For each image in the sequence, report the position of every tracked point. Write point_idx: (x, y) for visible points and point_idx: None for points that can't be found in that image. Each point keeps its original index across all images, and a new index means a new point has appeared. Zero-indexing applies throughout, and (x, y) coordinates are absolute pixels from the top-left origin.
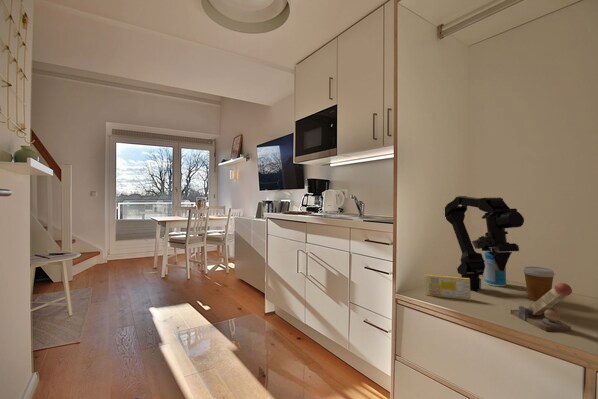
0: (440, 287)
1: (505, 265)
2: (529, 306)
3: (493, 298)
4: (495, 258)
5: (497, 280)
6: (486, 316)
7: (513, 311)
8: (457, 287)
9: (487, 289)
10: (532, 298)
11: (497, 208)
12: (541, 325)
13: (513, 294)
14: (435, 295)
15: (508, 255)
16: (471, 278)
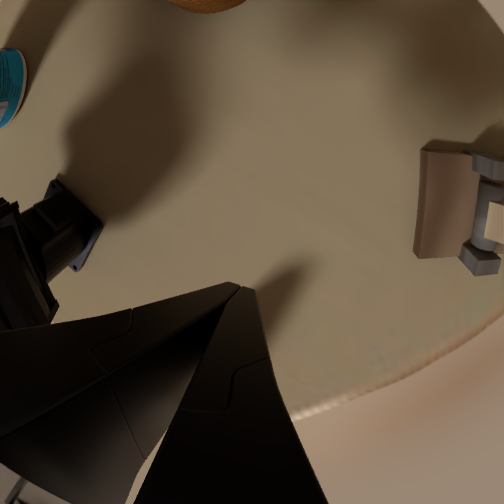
0: None
1: (261, 326)
2: (494, 240)
3: (202, 198)
4: (155, 445)
5: (6, 90)
6: (412, 343)
7: (432, 257)
8: None
9: (64, 152)
10: (226, 6)
11: None
12: None
13: (124, 55)
14: None
15: (292, 501)
16: (55, 263)
